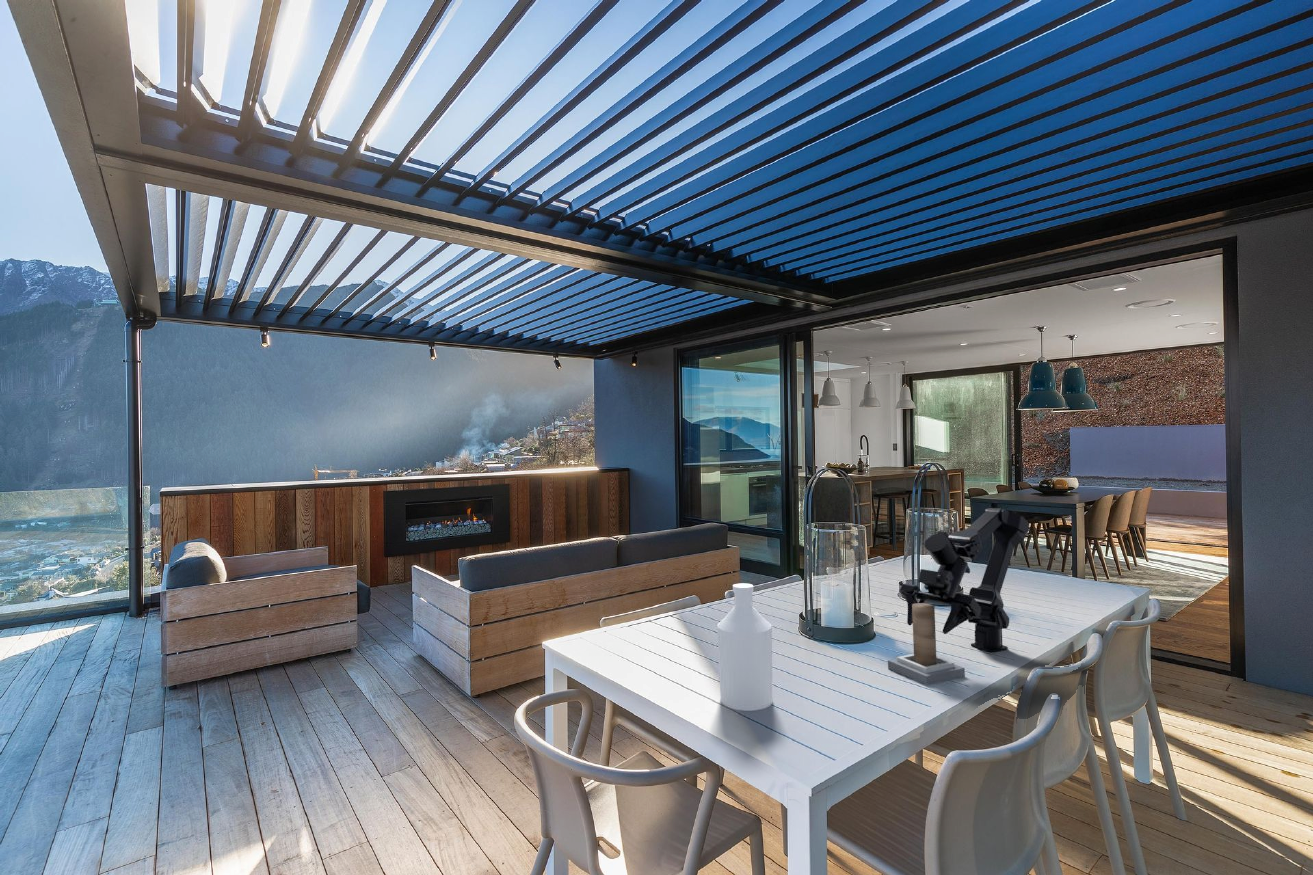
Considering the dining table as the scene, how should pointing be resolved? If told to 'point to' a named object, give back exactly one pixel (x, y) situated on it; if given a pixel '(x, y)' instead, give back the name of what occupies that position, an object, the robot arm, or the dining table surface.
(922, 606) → the post
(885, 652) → the dining table surface
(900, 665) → the base
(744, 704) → the bottle
